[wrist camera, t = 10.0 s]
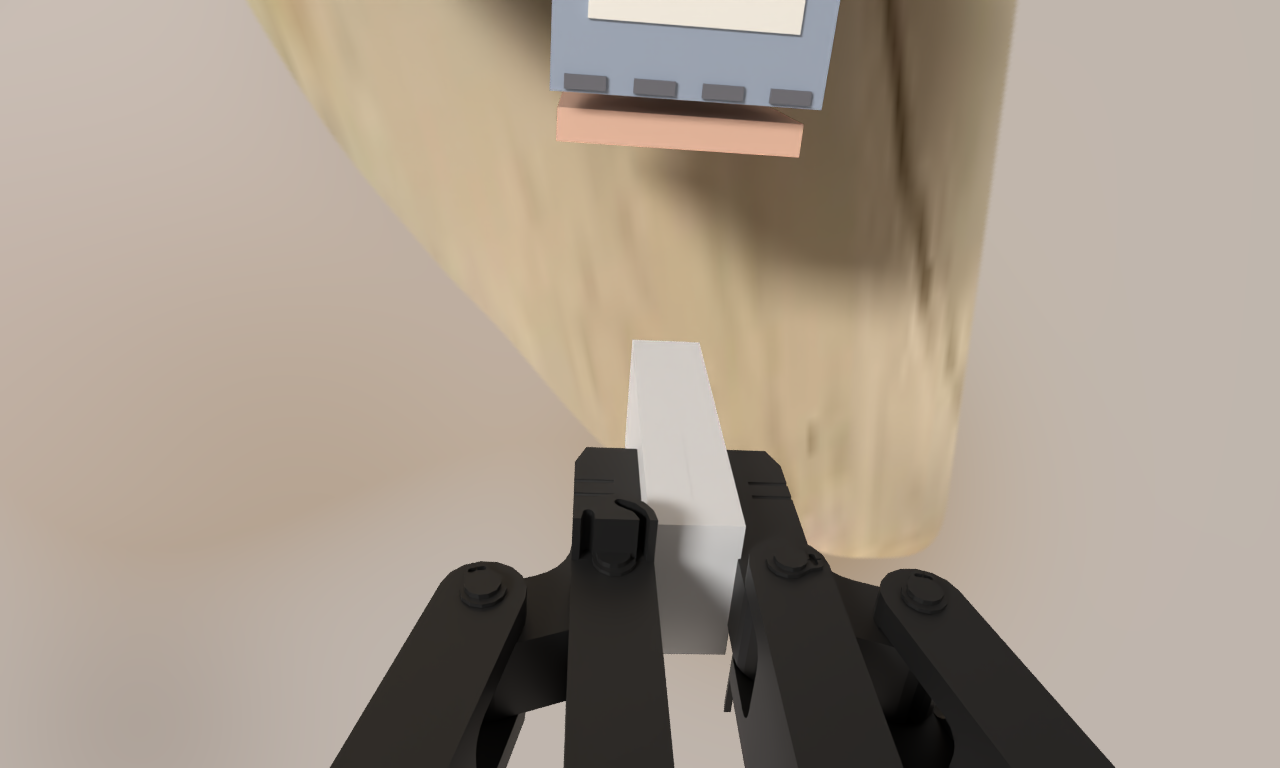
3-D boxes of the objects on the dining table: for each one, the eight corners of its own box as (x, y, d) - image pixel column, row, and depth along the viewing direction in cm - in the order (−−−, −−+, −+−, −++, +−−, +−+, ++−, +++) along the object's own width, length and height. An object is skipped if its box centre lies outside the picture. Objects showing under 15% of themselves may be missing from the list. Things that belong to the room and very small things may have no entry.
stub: (557, 106, 25) (556, 144, 26) (803, 124, 26) (798, 160, 26) (564, 85, 32) (563, 115, 33) (756, 100, 33) (752, 128, 33)
